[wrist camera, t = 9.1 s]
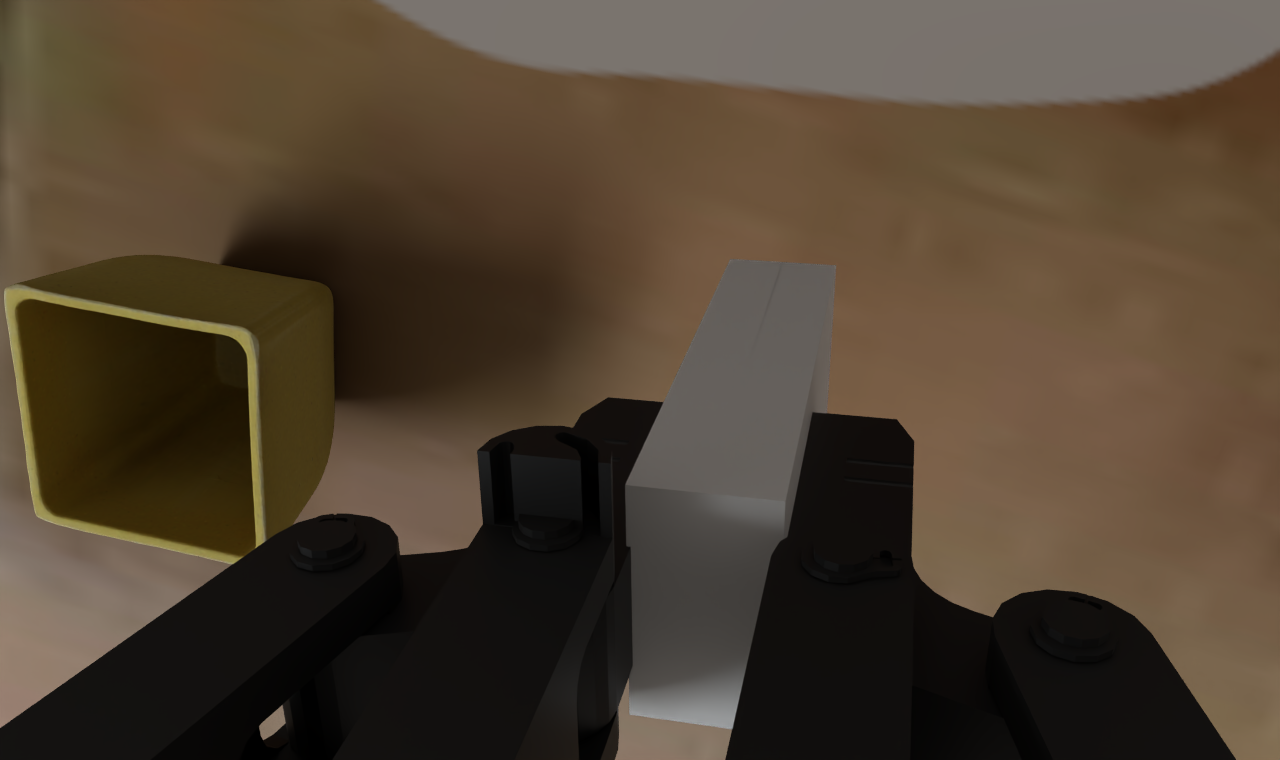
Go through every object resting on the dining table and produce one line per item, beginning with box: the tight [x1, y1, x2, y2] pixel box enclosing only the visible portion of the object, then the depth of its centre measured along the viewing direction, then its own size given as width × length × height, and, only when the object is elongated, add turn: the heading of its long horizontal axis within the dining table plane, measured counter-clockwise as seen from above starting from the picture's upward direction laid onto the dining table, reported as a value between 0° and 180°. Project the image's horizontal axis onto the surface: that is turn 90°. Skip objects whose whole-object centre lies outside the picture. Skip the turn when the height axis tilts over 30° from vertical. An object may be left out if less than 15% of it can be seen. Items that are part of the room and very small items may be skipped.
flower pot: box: [4, 255, 335, 564], centre depth 42 cm, size 9×9×9 cm
